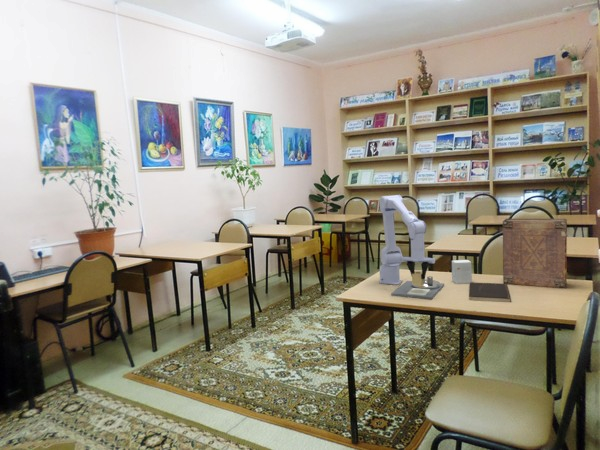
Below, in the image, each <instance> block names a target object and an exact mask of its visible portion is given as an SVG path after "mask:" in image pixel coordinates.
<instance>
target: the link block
mask: <svg viewBox="0 0 600 450" xmlns="http://www.w3.org/2000/svg"><path fill="white" fill-rule="evenodd" d="M425 280H426V278H425V279H422V270H415V272H414V273H412V276H411V281H412V285H420V286H421V285H422V284H423V283H425Z"/></svg>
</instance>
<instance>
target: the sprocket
mask: <svg viewBox="0 0 600 450" xmlns="http://www.w3.org/2000/svg"><path fill="white" fill-rule="evenodd" d="M433 277H434V276H431V275H430V276H428V275H427V276H426V279H425V283H423V284H422V285H421V286H420V285H412V282H411V285H412V287H414V288H419V289H434V288H438V287H440V281H438V280H434V279H433Z"/></svg>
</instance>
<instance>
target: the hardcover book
mask: <svg viewBox="0 0 600 450" xmlns="http://www.w3.org/2000/svg"><path fill="white" fill-rule="evenodd" d="M468 298H469V300H470V301H482V302H483V301H484V302H485V301H487V302H499V303H500V302H504V303H512V298H511V294H510V290H509V286H508V284H504V283H500V282H499V283H498V282H497V283H496V282H494V283H493V282H492V283H491V282H473V281H472V282H470V283H469V289H468Z"/></svg>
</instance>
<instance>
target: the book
mask: <svg viewBox="0 0 600 450" xmlns="http://www.w3.org/2000/svg"><path fill="white" fill-rule="evenodd" d="M567 221H568V219H567V218H505V219H504V220H502V272H503V274H502V279H503V280H502V281H503V282H502V284H507V285H513V286H515V285H516V286H528V287H539V288H540V287H541V288H551V289H553V288H554V289H563V290H564V289H567V286H568V285H567V279H568V278H567V276H568V275H567V267H568V266H567V257H568V255H567V254H568V253H567V250H568V249H567V248H568V246H567V244H568V243H567V231H568V230H567V229H568V228H567V225H568V222H567Z"/></svg>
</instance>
